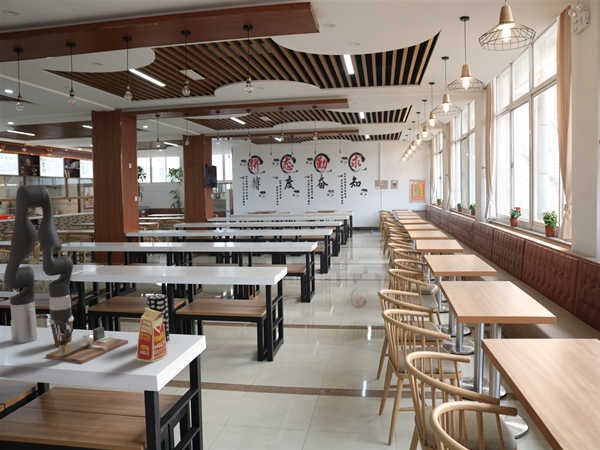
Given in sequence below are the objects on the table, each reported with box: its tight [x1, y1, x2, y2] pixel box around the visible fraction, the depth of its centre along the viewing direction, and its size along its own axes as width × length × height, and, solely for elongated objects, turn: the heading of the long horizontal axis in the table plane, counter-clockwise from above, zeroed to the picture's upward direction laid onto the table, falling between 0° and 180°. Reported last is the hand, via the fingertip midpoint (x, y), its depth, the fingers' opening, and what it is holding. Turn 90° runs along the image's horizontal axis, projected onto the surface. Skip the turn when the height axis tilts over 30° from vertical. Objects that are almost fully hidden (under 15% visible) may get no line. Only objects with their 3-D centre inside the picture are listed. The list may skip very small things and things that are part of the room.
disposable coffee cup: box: [48, 315, 75, 347], centre depth 196 cm, size 10×10×12 cm
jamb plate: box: [45, 326, 129, 364], centre depth 188 cm, size 20×24×6 cm
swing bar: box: [58, 333, 94, 355], centre depth 182 cm, size 15×4×4 cm, turn 161°
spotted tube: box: [146, 293, 170, 343], centre depth 196 cm, size 8×8×20 cm
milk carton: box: [135, 307, 168, 363], centre depth 177 cm, size 9×9×20 cm
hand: (63, 348), depth 180 cm, fingers closed
